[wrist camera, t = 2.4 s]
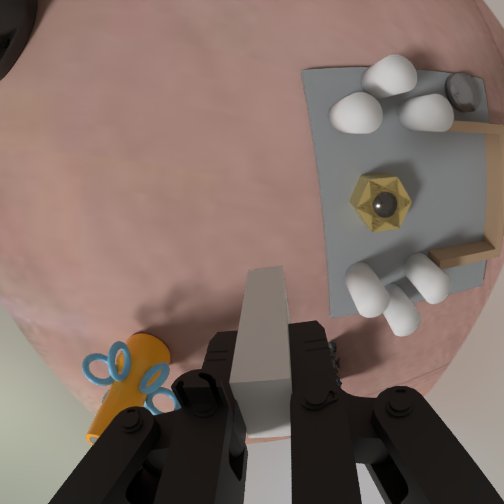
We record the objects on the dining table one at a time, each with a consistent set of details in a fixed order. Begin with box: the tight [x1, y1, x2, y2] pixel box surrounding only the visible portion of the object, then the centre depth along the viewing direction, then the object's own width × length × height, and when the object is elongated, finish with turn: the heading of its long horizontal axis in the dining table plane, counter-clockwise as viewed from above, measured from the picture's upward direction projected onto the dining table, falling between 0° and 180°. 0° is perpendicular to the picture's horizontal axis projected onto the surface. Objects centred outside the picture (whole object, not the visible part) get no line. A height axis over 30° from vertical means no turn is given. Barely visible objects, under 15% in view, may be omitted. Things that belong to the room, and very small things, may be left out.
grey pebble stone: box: [445, 73, 480, 112], centre depth 19 cm, size 4×4×1 cm
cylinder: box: [82, 333, 181, 446], centre depth 27 cm, size 12×10×15 cm
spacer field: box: [301, 54, 504, 336], centre depth 22 cm, size 24×20×6 cm
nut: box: [349, 173, 412, 232], centre depth 23 cm, size 4×5×2 cm
